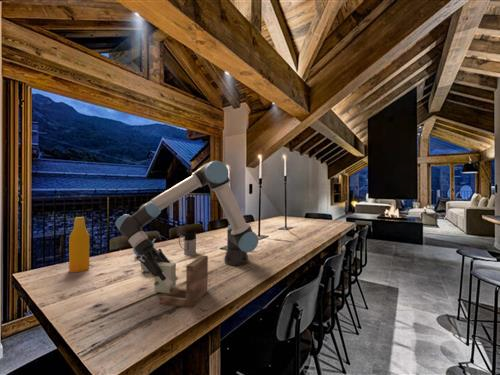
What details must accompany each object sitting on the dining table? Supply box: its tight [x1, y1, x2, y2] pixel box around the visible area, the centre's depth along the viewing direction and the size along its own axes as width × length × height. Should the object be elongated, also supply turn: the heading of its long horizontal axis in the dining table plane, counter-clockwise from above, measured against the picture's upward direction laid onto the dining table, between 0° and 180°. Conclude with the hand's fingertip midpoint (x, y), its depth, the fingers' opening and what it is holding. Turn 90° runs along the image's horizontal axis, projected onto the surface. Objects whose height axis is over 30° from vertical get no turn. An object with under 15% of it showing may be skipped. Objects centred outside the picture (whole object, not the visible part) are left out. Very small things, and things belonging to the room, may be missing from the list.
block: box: [153, 262, 177, 295], centre depth 105 cm, size 8×5×12 cm, turn 77°
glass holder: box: [178, 230, 197, 256], centre depth 160 cm, size 9×14×15 cm, turn 148°
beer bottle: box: [68, 216, 90, 273], centre depth 130 cm, size 9×9×29 cm
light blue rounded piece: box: [132, 238, 156, 258], centre depth 156 cm, size 13×13×10 cm
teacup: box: [139, 256, 157, 273], centre depth 132 cm, size 14×11×8 cm
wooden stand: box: [159, 254, 209, 308], centre depth 100 cm, size 14×14×16 cm
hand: (173, 282), depth 105 cm, fingers closed on block, 4 cm apart
